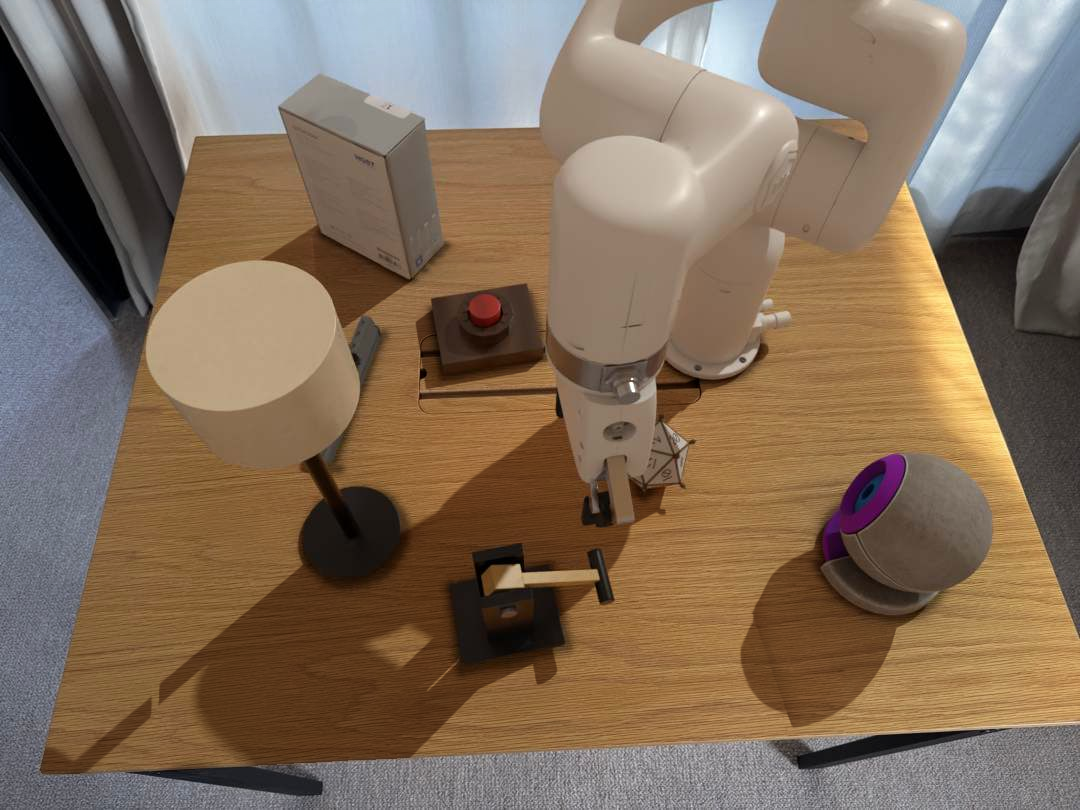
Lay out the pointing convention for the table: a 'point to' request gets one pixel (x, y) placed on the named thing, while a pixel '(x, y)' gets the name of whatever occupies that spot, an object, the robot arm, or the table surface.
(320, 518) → the desk lamp
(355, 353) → the grey long bar
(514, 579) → the tan handled piece
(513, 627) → the switch bracket
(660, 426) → the game die
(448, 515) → the table surface
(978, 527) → the webcam
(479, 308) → the red push button
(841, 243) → the robot arm
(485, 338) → the button block
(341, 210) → the hard drive box
